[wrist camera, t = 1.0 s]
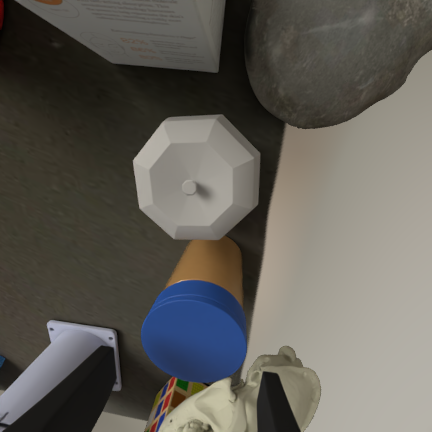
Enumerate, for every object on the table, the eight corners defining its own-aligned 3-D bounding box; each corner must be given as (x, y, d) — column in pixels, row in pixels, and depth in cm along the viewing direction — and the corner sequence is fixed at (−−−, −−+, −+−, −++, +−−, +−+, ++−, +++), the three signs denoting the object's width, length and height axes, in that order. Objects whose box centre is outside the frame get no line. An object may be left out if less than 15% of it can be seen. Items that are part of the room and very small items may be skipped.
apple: (185, 232, 19) (158, 274, 12) (142, 147, 17) (84, 146, 10) (272, 198, 17) (292, 228, 11) (235, 99, 15) (232, 64, 9)
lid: (240, 362, 13) (240, 391, 12) (154, 348, 14) (142, 375, 12) (251, 286, 11) (253, 308, 10) (152, 273, 12) (138, 293, 10)
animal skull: (262, 304, 21) (339, 380, 15) (267, 339, 26) (325, 405, 21) (118, 434, 16) (157, 620, 10) (161, 444, 21) (202, 568, 16)
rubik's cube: (156, 394, 26) (135, 456, 21) (178, 369, 24) (161, 430, 19) (194, 414, 26) (183, 481, 21) (218, 392, 24) (212, 458, 19)
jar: (238, 287, 20) (238, 379, 12) (183, 280, 20) (148, 364, 12) (245, 235, 18) (250, 303, 10) (185, 229, 19) (145, 289, 11)
